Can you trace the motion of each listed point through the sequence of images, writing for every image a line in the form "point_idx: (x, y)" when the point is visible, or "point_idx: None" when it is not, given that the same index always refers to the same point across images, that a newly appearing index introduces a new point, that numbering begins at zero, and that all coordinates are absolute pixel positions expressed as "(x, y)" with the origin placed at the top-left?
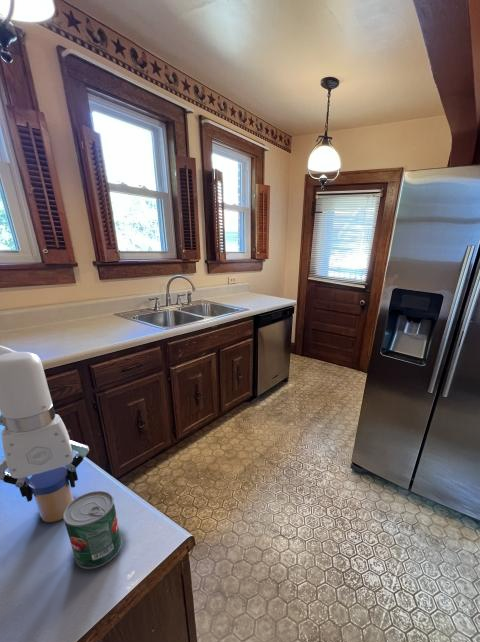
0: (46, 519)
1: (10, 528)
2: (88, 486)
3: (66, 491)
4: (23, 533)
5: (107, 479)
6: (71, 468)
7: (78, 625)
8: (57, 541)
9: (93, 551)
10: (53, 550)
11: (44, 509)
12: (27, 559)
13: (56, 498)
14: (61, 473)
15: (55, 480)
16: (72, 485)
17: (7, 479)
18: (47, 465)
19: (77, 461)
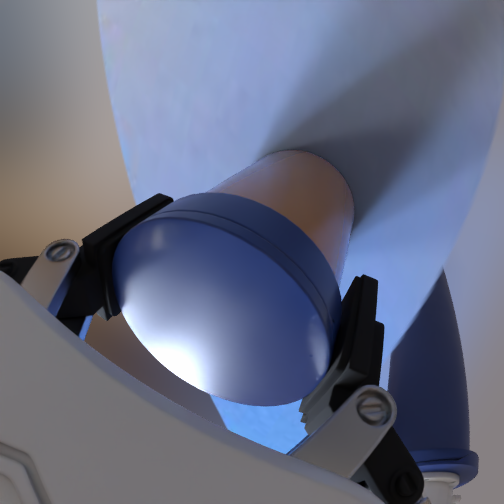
0: (344, 185)
1: (435, 259)
2: None
3: None
4: (423, 197)
5: None
6: (60, 261)
7: None
8: (348, 47)
9: None
10: (370, 18)
11: (333, 200)
12: (450, 57)
13: (255, 182)
14: (138, 293)
15: (168, 260)
16: (159, 200)
17: (407, 491)
18: (20, 395)
19: (18, 272)
